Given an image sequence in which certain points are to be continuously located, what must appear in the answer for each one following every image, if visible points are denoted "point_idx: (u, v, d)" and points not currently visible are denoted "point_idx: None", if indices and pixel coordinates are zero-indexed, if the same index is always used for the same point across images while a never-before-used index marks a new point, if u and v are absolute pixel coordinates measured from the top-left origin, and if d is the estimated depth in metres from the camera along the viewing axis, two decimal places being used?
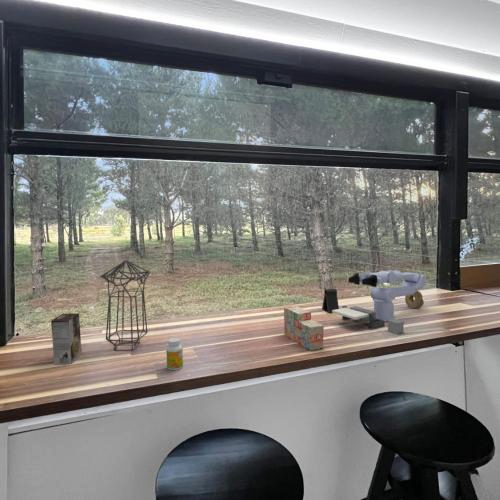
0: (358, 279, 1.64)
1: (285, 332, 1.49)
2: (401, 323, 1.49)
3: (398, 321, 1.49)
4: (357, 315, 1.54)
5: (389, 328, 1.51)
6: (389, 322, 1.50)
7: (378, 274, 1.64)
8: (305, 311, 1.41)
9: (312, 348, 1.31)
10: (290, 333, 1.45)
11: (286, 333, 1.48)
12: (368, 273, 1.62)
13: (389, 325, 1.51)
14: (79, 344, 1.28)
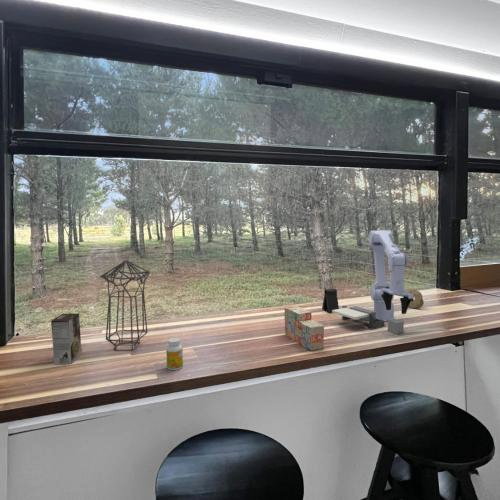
0: (389, 295, 1.53)
1: (286, 333, 1.49)
2: (401, 323, 1.49)
3: (398, 321, 1.49)
4: (357, 315, 1.54)
5: (389, 328, 1.51)
6: (389, 322, 1.50)
7: (402, 281, 1.46)
8: (305, 311, 1.41)
9: (312, 348, 1.31)
10: (290, 333, 1.45)
11: (286, 333, 1.48)
12: (393, 293, 1.47)
13: (389, 325, 1.51)
14: (79, 344, 1.28)
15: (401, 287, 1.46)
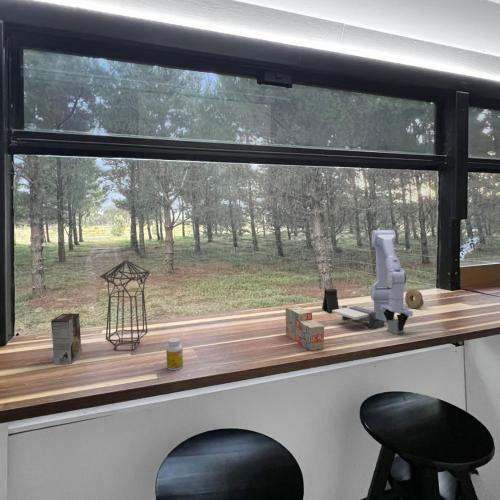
0: (391, 313, 1.52)
1: (287, 332, 1.49)
2: None
3: None
4: (357, 315, 1.54)
5: (389, 328, 1.51)
6: (389, 322, 1.50)
7: (402, 298, 1.47)
8: (306, 311, 1.41)
9: (312, 348, 1.31)
10: (291, 333, 1.45)
11: (287, 333, 1.48)
12: (392, 311, 1.48)
13: (389, 325, 1.51)
14: (79, 344, 1.28)
15: (401, 305, 1.47)
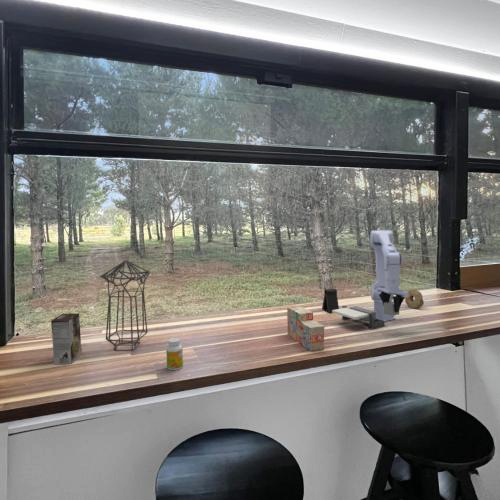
0: (387, 295, 1.51)
1: (288, 332, 1.49)
2: None
3: None
4: (357, 315, 1.54)
5: (385, 310, 1.50)
6: (385, 304, 1.50)
7: (397, 280, 1.46)
8: (307, 311, 1.41)
9: (312, 348, 1.31)
10: (292, 333, 1.45)
11: (289, 333, 1.48)
12: (388, 292, 1.47)
13: (385, 307, 1.50)
14: (79, 344, 1.28)
15: (396, 286, 1.46)
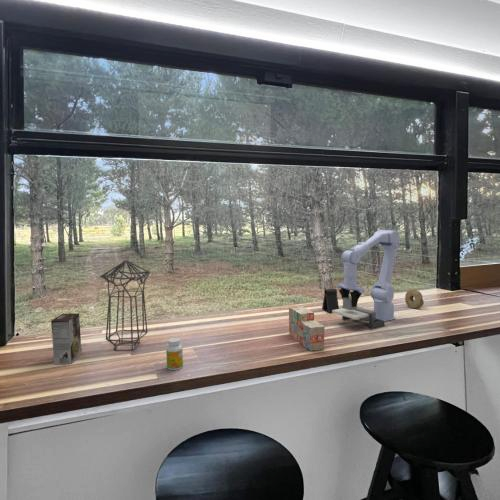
0: (346, 290, 1.61)
1: (290, 332, 1.49)
2: None
3: None
4: (357, 315, 1.54)
5: (344, 305, 1.59)
6: (344, 299, 1.59)
7: (349, 276, 1.55)
8: (308, 311, 1.41)
9: (312, 349, 1.30)
10: (294, 333, 1.45)
11: (290, 333, 1.48)
12: None
13: (344, 302, 1.59)
14: (79, 344, 1.28)
15: (354, 282, 1.56)
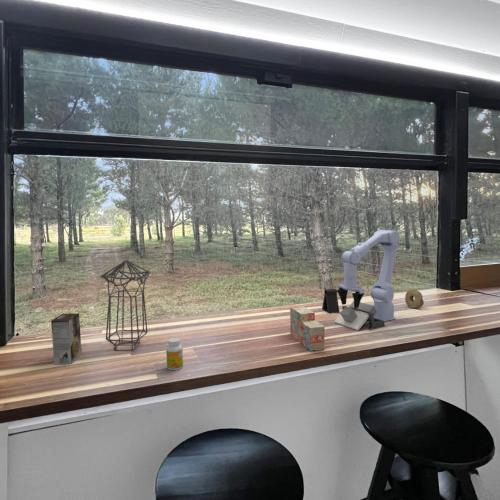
0: (344, 291, 1.62)
1: (291, 332, 1.49)
2: (351, 311, 1.57)
3: (348, 311, 1.57)
4: (358, 323, 1.55)
5: (344, 318, 1.60)
6: (341, 314, 1.59)
7: (349, 277, 1.55)
8: (309, 311, 1.41)
9: (312, 349, 1.30)
10: (295, 333, 1.45)
11: (292, 333, 1.49)
12: (346, 288, 1.57)
13: (343, 316, 1.59)
14: (79, 344, 1.28)
15: (354, 283, 1.56)
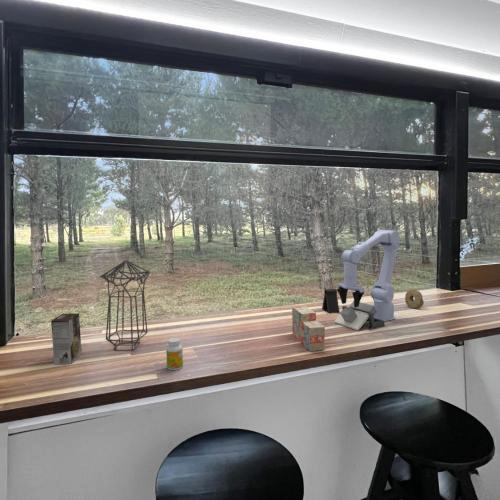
0: (344, 290, 1.62)
1: (293, 332, 1.49)
2: (351, 311, 1.57)
3: (348, 311, 1.57)
4: (358, 323, 1.55)
5: (344, 318, 1.60)
6: (341, 314, 1.59)
7: (349, 276, 1.55)
8: (310, 312, 1.40)
9: (312, 349, 1.30)
10: (296, 333, 1.45)
11: (293, 333, 1.49)
12: (346, 288, 1.57)
13: (343, 316, 1.59)
14: (79, 344, 1.28)
15: (354, 282, 1.56)
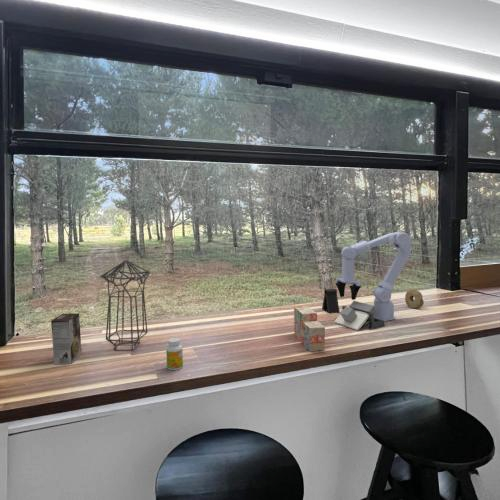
0: (342, 284, 1.74)
1: (295, 332, 1.49)
2: (351, 311, 1.57)
3: (348, 311, 1.57)
4: (358, 323, 1.55)
5: (344, 318, 1.60)
6: (341, 314, 1.59)
7: (344, 270, 1.68)
8: (311, 312, 1.40)
9: (312, 349, 1.30)
10: (297, 333, 1.45)
11: (295, 333, 1.49)
12: (344, 282, 1.68)
13: (343, 316, 1.59)
14: (79, 344, 1.28)
15: (351, 276, 1.67)
